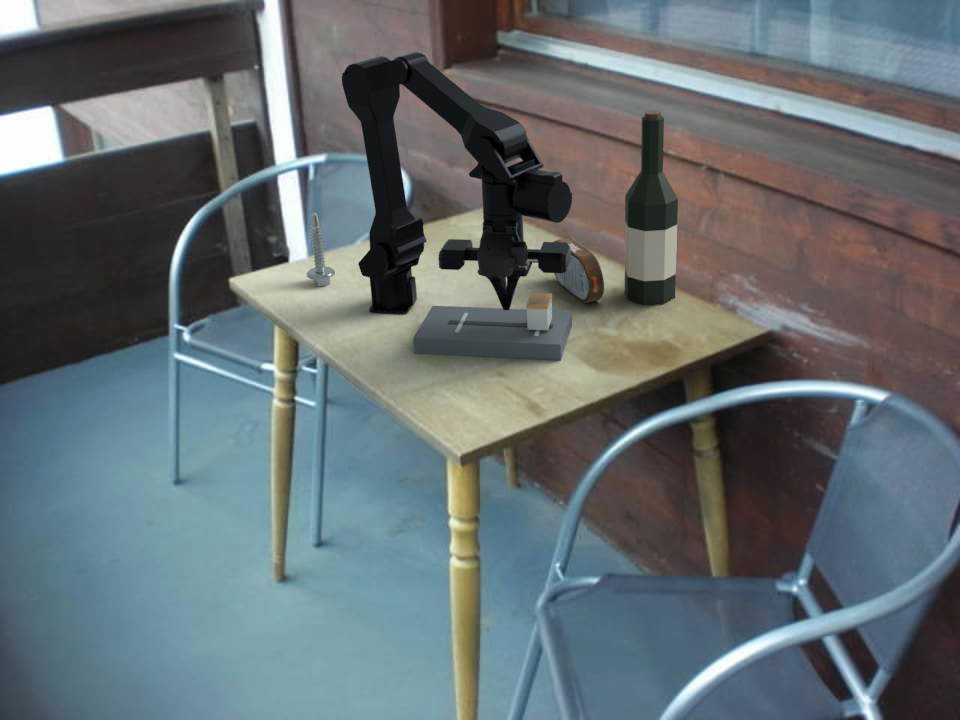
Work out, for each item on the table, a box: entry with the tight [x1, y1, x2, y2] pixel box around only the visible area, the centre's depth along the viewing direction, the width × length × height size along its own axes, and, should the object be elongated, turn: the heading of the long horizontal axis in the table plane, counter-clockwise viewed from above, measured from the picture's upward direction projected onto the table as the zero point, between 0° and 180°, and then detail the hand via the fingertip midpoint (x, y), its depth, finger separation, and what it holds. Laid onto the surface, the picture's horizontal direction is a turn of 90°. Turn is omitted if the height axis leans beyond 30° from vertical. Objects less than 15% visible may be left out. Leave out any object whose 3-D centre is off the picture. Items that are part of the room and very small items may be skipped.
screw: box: [306, 211, 336, 288], centre depth 195 cm, size 13×5×5 cm
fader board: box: [412, 305, 573, 361], centre depth 174 cm, size 22×12×3 cm, turn 78°
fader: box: [525, 292, 553, 330], centre depth 171 cm, size 3×4×4 cm
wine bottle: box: [624, 109, 679, 306], centre depth 180 cm, size 8×8×30 cm
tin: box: [553, 236, 605, 304], centre depth 187 cm, size 15×3×8 cm, turn 22°
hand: (506, 309), depth 171 cm, fingers closed
